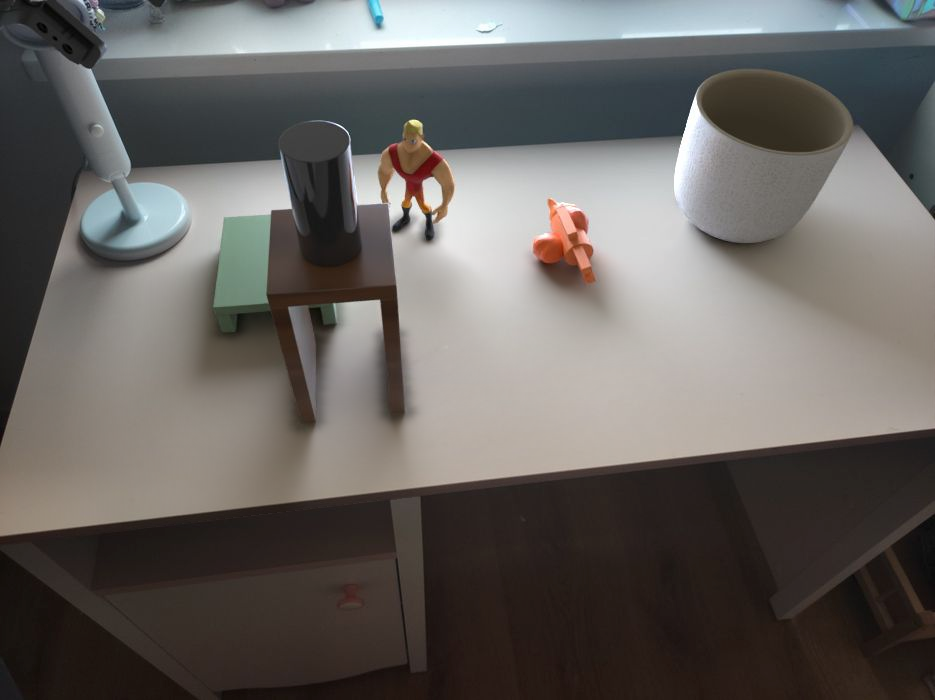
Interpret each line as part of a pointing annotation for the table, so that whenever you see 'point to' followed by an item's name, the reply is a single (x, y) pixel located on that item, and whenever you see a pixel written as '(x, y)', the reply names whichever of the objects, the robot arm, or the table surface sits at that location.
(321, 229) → the glossy black cylinder
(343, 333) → the table surface
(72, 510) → the table surface
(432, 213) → the action figure
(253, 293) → the low shelf
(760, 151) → the planter
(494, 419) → the table surface
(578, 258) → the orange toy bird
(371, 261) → the high shelf
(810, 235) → the table surface
